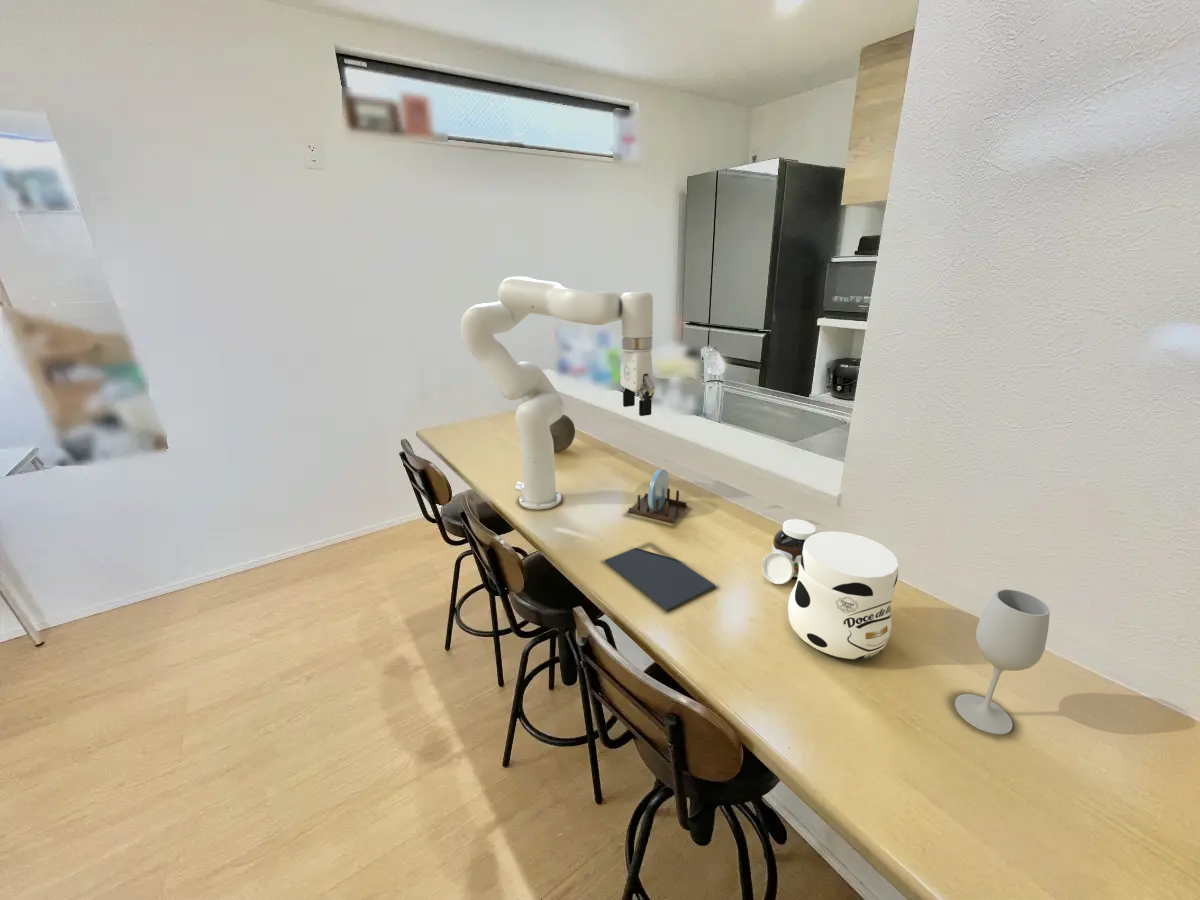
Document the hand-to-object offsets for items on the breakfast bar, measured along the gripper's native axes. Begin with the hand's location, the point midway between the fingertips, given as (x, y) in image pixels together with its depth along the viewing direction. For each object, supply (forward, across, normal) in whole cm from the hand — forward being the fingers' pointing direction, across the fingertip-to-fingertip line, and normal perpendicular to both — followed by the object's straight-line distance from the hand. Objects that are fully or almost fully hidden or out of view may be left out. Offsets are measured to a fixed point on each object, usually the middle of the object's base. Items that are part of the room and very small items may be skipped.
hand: (636, 410), depth 128 cm
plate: (+30, 0, +7) cm, 31 cm away
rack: (+31, 0, +7) cm, 32 cm away
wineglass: (+32, +80, +22) cm, 88 cm away
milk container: (+32, +57, +14) cm, 67 cm away
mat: (+31, +27, -8) cm, 42 cm away
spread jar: (+31, +39, +20) cm, 54 cm away
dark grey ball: (+30, -58, -6) cm, 66 cm away
